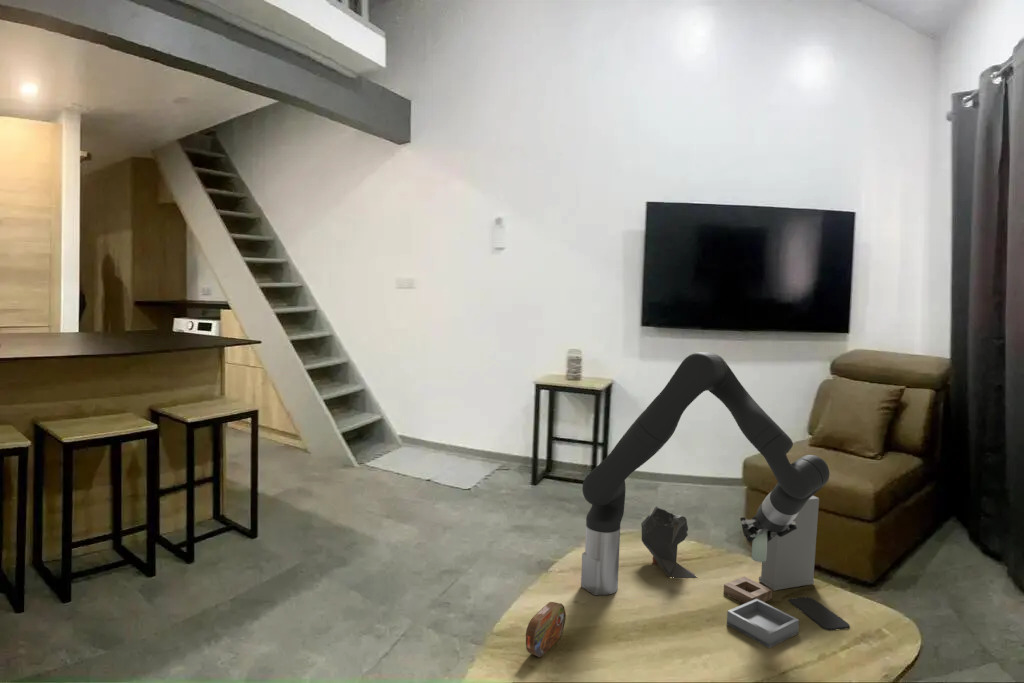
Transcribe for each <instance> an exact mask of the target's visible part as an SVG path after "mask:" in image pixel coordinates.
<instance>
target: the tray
mask: <svg viewBox="0 0 1024 683" xmlns="http://www.w3.org/2000/svg"><path fill="white" fill-rule="evenodd" d="M726 612H727V613H726V625H727V626H729V627H730V628H732V629H734V630H736V631H738V632H739V633H741V634H743V635H744V636H746V637H748V638H750V639H752V640H753V641H755V642H757V643H759V644H760V645H763V646H764V647H766V648H768V649H771V648H772V647H775V646H777V645H778V644H781V643H782V642H785V641H787V640H788V639H790V638H792V637H794V636H797V635H798V634H799V628H800V626H799V625H800V619H798V618H796V617H794V616H793V615H790V614H788V613H786V612H784V611H783V610H781V609H779V608H776V607H774V606H772V605H771V604H768V603H766V602H762V601H760V600H758V599H754V600H752V601H750V602H747V603H745V604H744V603H742V604H741V605H738V606H736V607H733V608H731V609H728V610H727V611H726Z"/></svg>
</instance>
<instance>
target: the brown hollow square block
mask: <svg viewBox="0 0 1024 683" xmlns="http://www.w3.org/2000/svg"><path fill="white" fill-rule="evenodd" d="M746 590H747V591H746ZM724 593H725V594H724ZM723 594H724V595H726V596H728V595H729V596H728V597H730V598H732V599H734V600H737V601H738V602H739V603H741V604H745V603H747V602H750V601H752V600H754V599H758V600H760V601H762V602H764V603H766V602H767V601H770V600H772V598H773V590H772V589H771V588H769V587H768V586H766V585H765V586H764V584H762V583H759V582H757V581H754V580H752V579H751V578H748V577H746V576H741V577H740V578H737V579H734V580H731V581H729V582H727V583H726V582H725V583H723Z"/></svg>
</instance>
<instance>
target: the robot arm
mask: <svg viewBox="0 0 1024 683" xmlns="http://www.w3.org/2000/svg"><path fill="white" fill-rule="evenodd" d="M706 391H708V392H709V393H711V394H712V395H713V396H714V397H716V398H717V399H718V400H719V401H720V402H721V403H722V404H723V405H724V406H725V407H726V408H727V409H728V411H729V412H730V414H731V416H732V417H733V419H734V420H735V422H736V424H737V426H738V428H739V429H740V431H741V433H742V434H743V435H744V437H745V438H746V439H747V441H749V443H750V444H751V445H752V446H753V447H754V448H755V449H756V450H757V452H759V453H760V455H761V456H763V458H764V459H765V461H766V464H767V465H768V466H769V468H770V470H771V472H772V473H773V475H774V477H775V479H776V481H777V483H776V485H775V486H774V488H773V489H772V490H771V491H770V492H769V493H768V494H767V495H766V496H767V497H765V498H764V499H763V500H762V502H761V504H760V505H759V506H758V509H757V511H756V513H755V515H753V517H752V518H751V519H747V518H746V517H740V518H739V520H740V524H741V529H742V532H743V536H744V537H745V539H746V541H747V542H748V543H752V541H753V540H754V539H755V536H757V535H761V534H762V533H764V532H767V531H768V536H767V542H768V541H770V540H771V539H772V538H774V537H775V536H776V535H778V536H779V537H782V536H784V535H786V534H788V533H790V532H792V531H793V530H795V529H797V527H796V523H795V520H794V519H795V518H796V517H797V515H798V513H799V511H800V510H801V509H802V507H803V506H804V505H805V503H806V502H807V501H808V500H809V498H810V497H812V496H815V494H817V493H818V492H819V491H820V490H822V488H823V487H824V486H825V485H826V484H827V483H828V481H829V478H830V472H831V471H830V468H829V466H828V464H827V462H826V461H825V460H824V459H823V458H821V457H820V456H818V455H813V454H805V455H803V456H802V457H800V458H798V459H797V460H795V461H793V462H792V463H791V462H790V461H789V459H788V458H789V457H788V456H787V454H788V453H789V452H790V451H791V449H792V448H793V445H794V442H793V440H792V439H791V437H790V436H789V435H788V434H787V433H786V432H785V430H783V429H782V428H781V427H780V426H779V425H778V423H776V422H775V421H774V420H773V419H772V418H771V417H770V416H769V415H768V413H767V412H766V411H764V409H763V408H762V407H761V406H760V405H759V404H758V403H757V402H756V400H754V398H753V397H752V396H751V394H750V393H749V392H748V391H747V389H746V388H745V387H744V386H743V384H742V383H741V381H739V379H738V378H737V376H736V375H735V373H734V372H733V370H732V369H731V367H730V366H729V365H728V363H727V362H726V361H725V360H724V358H722V356H720V355H719V354H716V353H713V352H707V351H705V352H704V351H703V352H702V351H701V352H700V351H698V352H694V353H691V354H689V355H688V356H686V357H685V358H684V359H683V360H682V362H681V363H680V365H679V366H678V367H677V369H675V372H674V374H673V375H672V376H671V377H670V379H669V381H668V382H667V383H666V385H665V387H663V389H662V390H661V391H660V392H659V393H658V394H657V396H656V397H655V398H654V399H653V400H652V401H651V402H650V403H649V404H648V406H647V407H646V408H645V409H644V411H642V412H641V413H640V414H639V415H638V417H637V418H636V419H635V421H634V422H633V423H632V424H631V425H630V427H628V429H627V430H626V432H625V433H624V434H623V436H622V437H620V440H619V441H618V442H617V443H616V445H615V446H614V448H613V449H612V450H611V452H610V453H609V454H608V455H607V456H606V457H605V458H604V459H603V460H602V461H601V462H600V463H599V464H597V466H596V467H595V468H594V469H592V471H590V472H588V474H587V475H586V476H585V477H584V479H583V482H582V490H581V491H582V495H583V498H584V499H585V501H587V502H588V503H589V504H591V507H590V509H589V511H588V513H587V514H586V517H585V519H586V520H585V542H584V543H585V544H584V546H585V547H584V552H582V554H581V572H580V573H581V574H580V575H581V578H580V581H581V582H580V587H581V588H583V589H584V590H586V591H588V592H590V593H591V594H592V595H594V596H599V595H600V596H604V595H605V596H607V595H613V594H614V593H616V592H617V591H618V589H619V568H620V567H619V565H620V544H621V523H622V519H623V518H624V513H625V503H626V502H625V501H626V480H627V478H628V477H629V476H630V475H631V474H633V472H635V471H636V470H637V469H639V468H640V467H641V466H642V465H644V464H645V463H647V462H648V461H649V460H650V459H651V458H653V456H655V455H656V454H657V453H658V452H659V451H660V450H661V449H662V447H664V446H665V445H666V443H667V442H668V441H669V440H670V439H671V437H672V436H673V434H674V432H676V429H677V427H678V424H679V422H680V420H681V418H682V415H683V414H684V412H685V411H686V409H687V408H688V407H689V406H690V405H691V404H692V403H693V402H694V401H695V400H696V399H697V398H698V397H699V396H700V395H701V394H702V393H704V392H706Z"/></svg>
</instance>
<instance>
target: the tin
mask: <svg viewBox="0 0 1024 683" xmlns="http://www.w3.org/2000/svg"><path fill="white" fill-rule="evenodd" d="M566 616H567V615H566V609H565V606H564V604H563V603H558V602H556V601H555V602H554V601H549V602H548V603H546V604H545V605H544V607H542V608H541V609H540V610H539V611H538V612H537V613H536V614H535V615H534V616H532V618H531V619H530V620H529V622H528V625H527V628H526V631H525V648H526V651H527V653H529V654H531V655H534V656H535V657H538V658H541V657H543V656H544V655H545V654H546V653H547V652H548V651H549V650H550V649H551V648H553V646H554V645H555V644H556V642H558V641H559V640H560V638H561V636H562V634H563V632H564V628H565V625H566Z"/></svg>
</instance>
